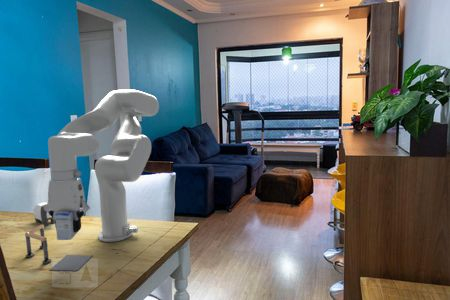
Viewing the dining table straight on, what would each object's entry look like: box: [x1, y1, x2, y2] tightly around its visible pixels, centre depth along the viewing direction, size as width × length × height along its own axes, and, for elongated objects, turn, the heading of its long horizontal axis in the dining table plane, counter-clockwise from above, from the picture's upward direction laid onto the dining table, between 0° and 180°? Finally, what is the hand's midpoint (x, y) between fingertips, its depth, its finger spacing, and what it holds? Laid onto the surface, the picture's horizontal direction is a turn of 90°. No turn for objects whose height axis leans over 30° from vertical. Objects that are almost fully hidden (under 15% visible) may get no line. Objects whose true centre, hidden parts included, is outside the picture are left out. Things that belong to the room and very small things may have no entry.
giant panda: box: [32, 202, 55, 227], centre depth 144 cm, size 15×6×10 cm, turn 58°
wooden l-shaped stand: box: [24, 224, 52, 265], centre depth 114 cm, size 11×13×9 cm
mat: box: [49, 254, 93, 272], centre depth 108 cm, size 9×10×1 cm
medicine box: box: [55, 211, 78, 241], centre depth 106 cm, size 8×4×9 cm, turn 5°
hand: (68, 230), depth 107 cm, fingers closed on medicine box, 4 cm apart
